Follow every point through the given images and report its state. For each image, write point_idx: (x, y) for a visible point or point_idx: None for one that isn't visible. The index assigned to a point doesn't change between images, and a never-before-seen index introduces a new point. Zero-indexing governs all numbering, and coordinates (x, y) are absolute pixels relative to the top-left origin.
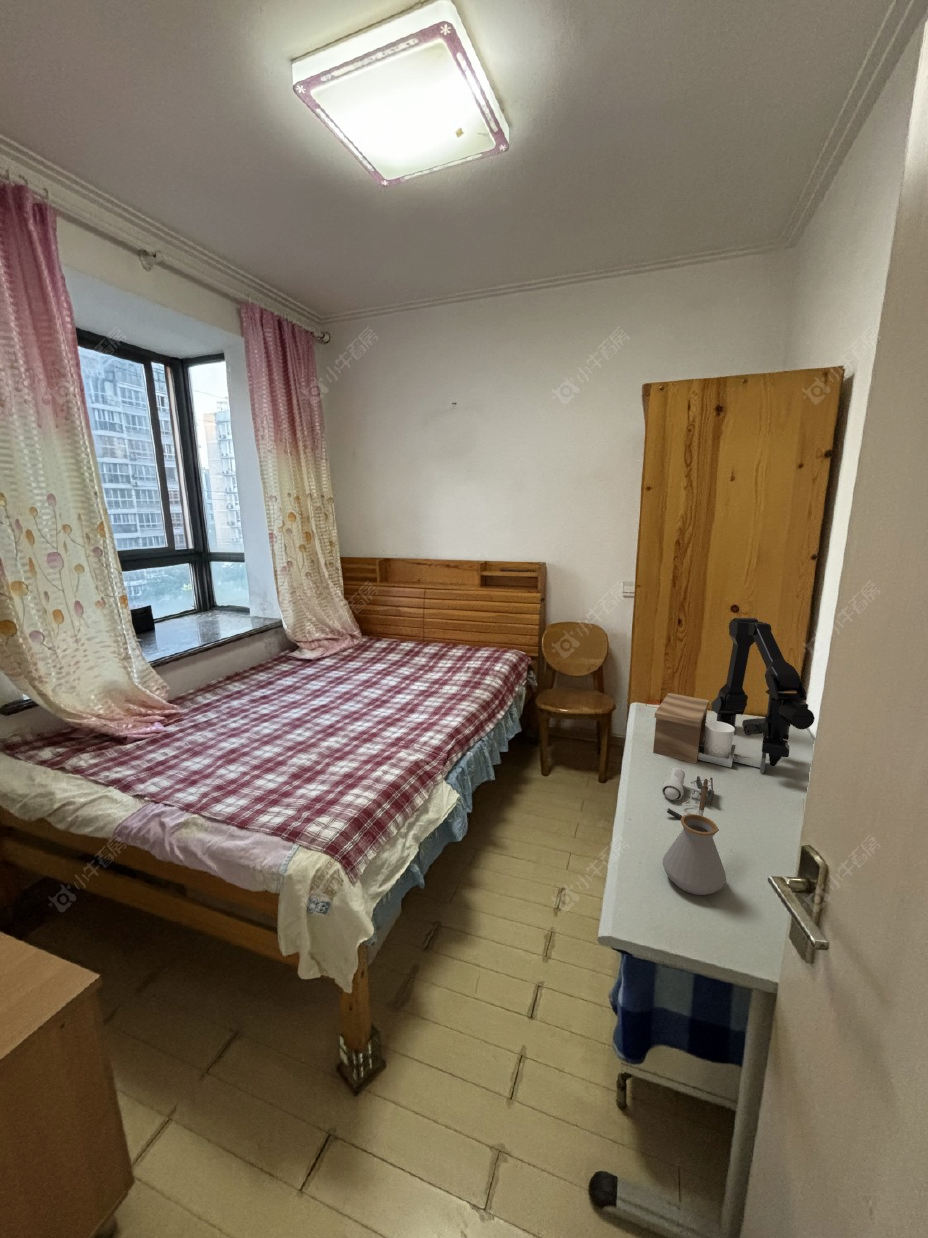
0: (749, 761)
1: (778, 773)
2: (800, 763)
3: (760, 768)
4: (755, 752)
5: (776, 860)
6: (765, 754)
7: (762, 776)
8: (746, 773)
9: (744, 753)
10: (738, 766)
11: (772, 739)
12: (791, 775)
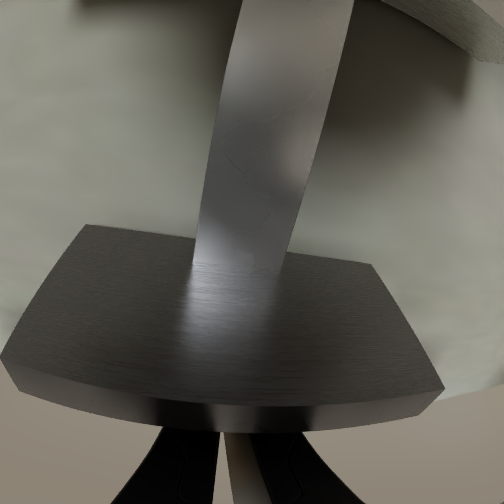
0: (225, 136)
1: None
2: None
3: (68, 248)
4: (497, 239)
5: None
6: (155, 420)
7: (62, 234)
8: (43, 102)
9: (491, 156)
10: (177, 16)
11: None
12: None
